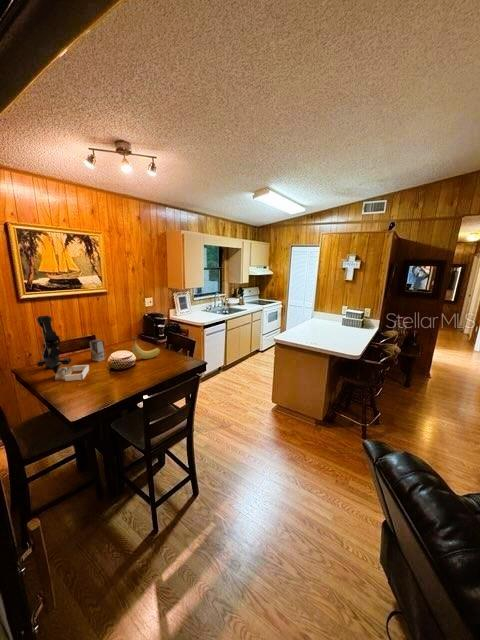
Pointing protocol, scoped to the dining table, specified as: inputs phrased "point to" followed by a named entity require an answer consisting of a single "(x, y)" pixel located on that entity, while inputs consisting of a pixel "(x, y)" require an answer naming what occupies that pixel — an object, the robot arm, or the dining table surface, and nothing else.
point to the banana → (144, 354)
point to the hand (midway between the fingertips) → (56, 373)
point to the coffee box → (97, 350)
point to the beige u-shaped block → (78, 376)
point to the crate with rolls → (63, 373)
